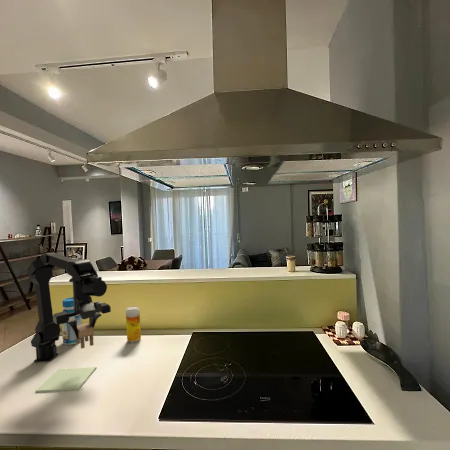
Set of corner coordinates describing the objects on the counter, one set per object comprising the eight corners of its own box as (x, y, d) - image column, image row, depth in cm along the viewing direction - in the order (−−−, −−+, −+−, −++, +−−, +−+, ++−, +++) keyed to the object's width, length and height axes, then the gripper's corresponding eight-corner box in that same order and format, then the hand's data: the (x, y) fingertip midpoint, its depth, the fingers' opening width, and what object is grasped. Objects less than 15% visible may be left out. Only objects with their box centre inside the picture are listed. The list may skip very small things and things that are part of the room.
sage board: (35, 392, 98) (35, 390, 98) (58, 370, 112) (58, 368, 112) (78, 390, 98) (78, 388, 98) (96, 368, 112) (96, 366, 112)
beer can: (137, 343, 133) (135, 310, 133) (124, 342, 134) (123, 309, 134) (143, 337, 139) (141, 306, 139) (131, 337, 140) (129, 305, 140)
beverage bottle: (77, 345, 134) (74, 301, 134) (58, 345, 134) (56, 302, 134) (86, 337, 143) (84, 296, 142) (68, 338, 143) (66, 296, 142)
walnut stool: (75, 343, 112) (74, 326, 112) (88, 339, 115) (87, 323, 115) (81, 349, 107) (80, 331, 107) (94, 345, 110) (93, 327, 110)
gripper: (59, 303, 98) (62, 350, 99) (115, 292, 111) (117, 334, 111) (51, 298, 106) (54, 341, 107) (104, 288, 119) (106, 326, 119)
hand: (84, 335), depth 111 cm, fingers closed on walnut stool, 4 cm apart
